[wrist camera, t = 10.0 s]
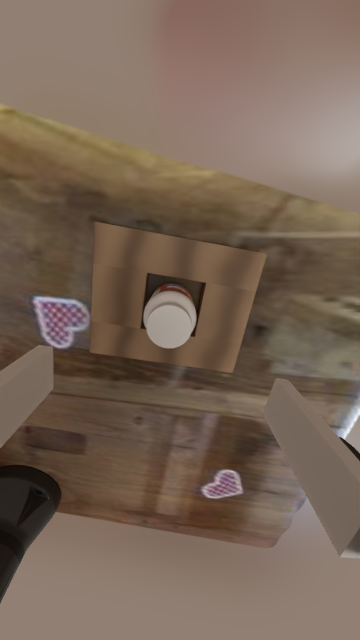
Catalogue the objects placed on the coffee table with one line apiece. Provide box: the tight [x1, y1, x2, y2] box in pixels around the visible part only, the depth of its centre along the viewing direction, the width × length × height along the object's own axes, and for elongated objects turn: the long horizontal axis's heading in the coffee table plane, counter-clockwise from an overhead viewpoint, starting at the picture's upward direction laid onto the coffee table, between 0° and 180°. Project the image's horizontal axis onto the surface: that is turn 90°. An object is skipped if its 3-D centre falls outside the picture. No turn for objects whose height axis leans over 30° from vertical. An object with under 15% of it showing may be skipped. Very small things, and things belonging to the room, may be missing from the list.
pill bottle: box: [143, 283, 196, 348], centre depth 26 cm, size 6×6×11 cm
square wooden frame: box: [89, 222, 267, 373], centre depth 30 cm, size 22×18×2 cm
